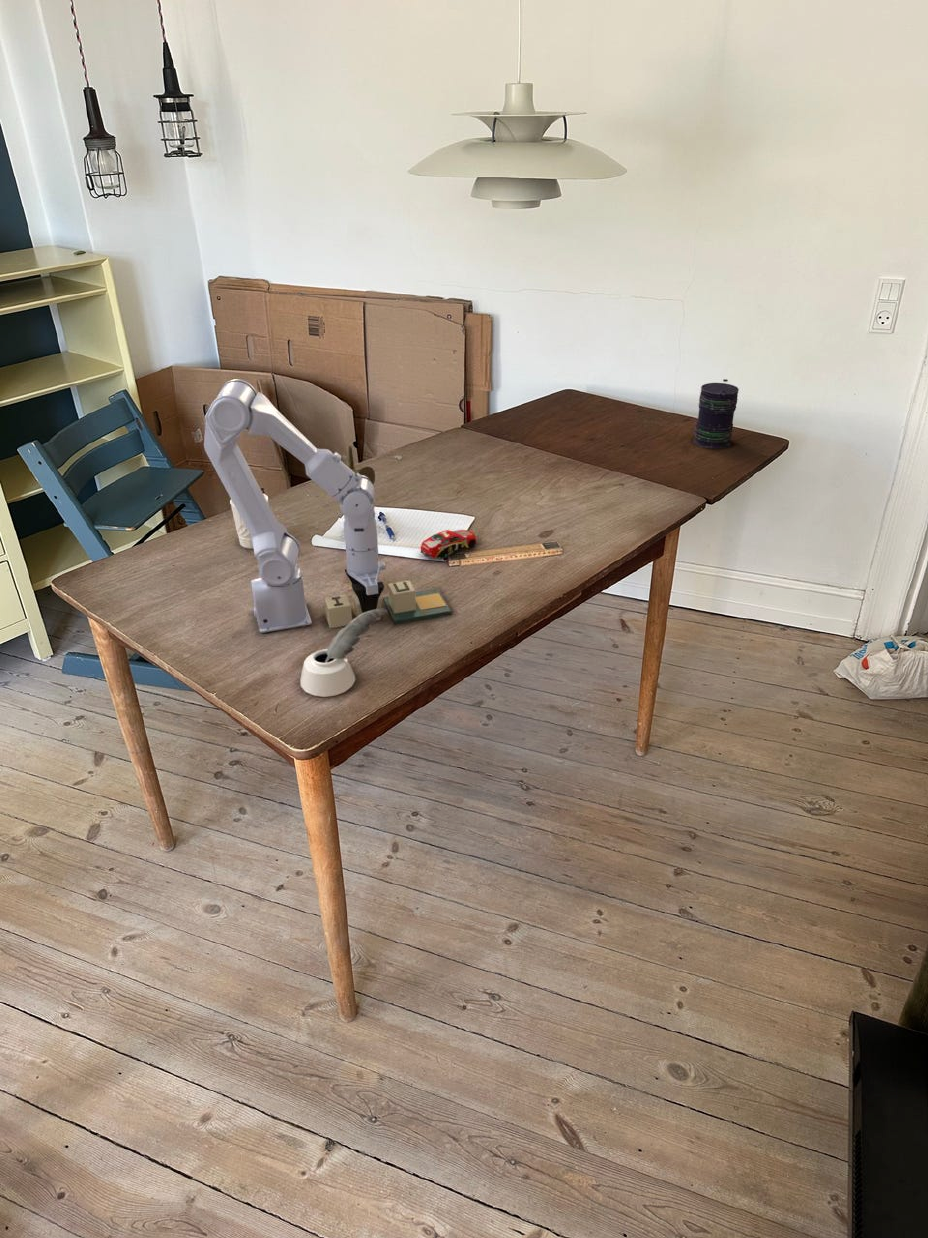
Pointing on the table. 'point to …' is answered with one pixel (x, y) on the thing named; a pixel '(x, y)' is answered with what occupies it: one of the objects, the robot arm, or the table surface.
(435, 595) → the green board
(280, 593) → the robot arm
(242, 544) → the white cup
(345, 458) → the kendama
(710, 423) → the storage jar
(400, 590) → the U block
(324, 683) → the inkwell
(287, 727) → the table surface
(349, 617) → the block
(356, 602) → the block
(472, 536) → the race car
